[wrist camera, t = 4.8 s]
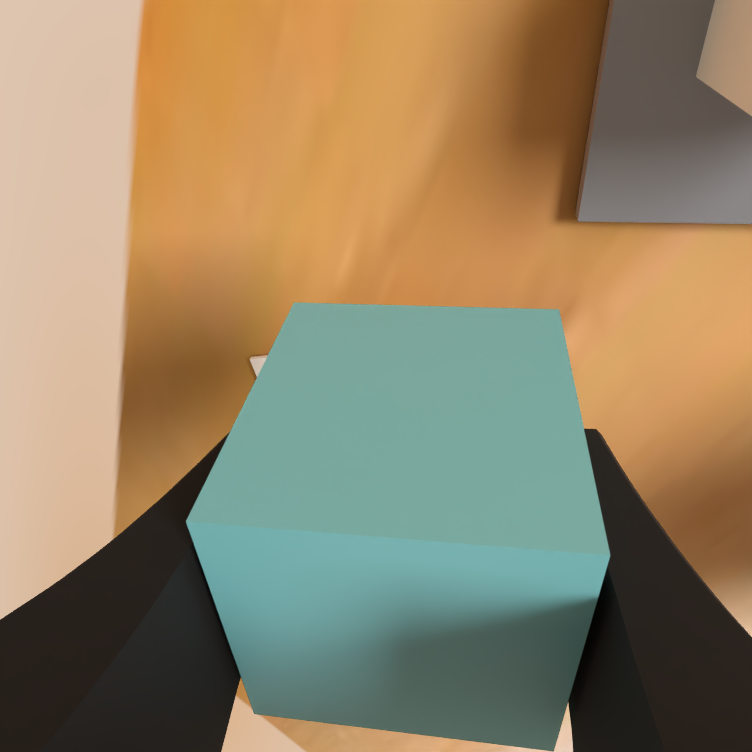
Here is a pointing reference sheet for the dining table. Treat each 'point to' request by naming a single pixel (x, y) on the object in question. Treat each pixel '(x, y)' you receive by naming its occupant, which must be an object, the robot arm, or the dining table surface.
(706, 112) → the plate
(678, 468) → the dining table surface
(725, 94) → the cream brick
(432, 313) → the teal brick
